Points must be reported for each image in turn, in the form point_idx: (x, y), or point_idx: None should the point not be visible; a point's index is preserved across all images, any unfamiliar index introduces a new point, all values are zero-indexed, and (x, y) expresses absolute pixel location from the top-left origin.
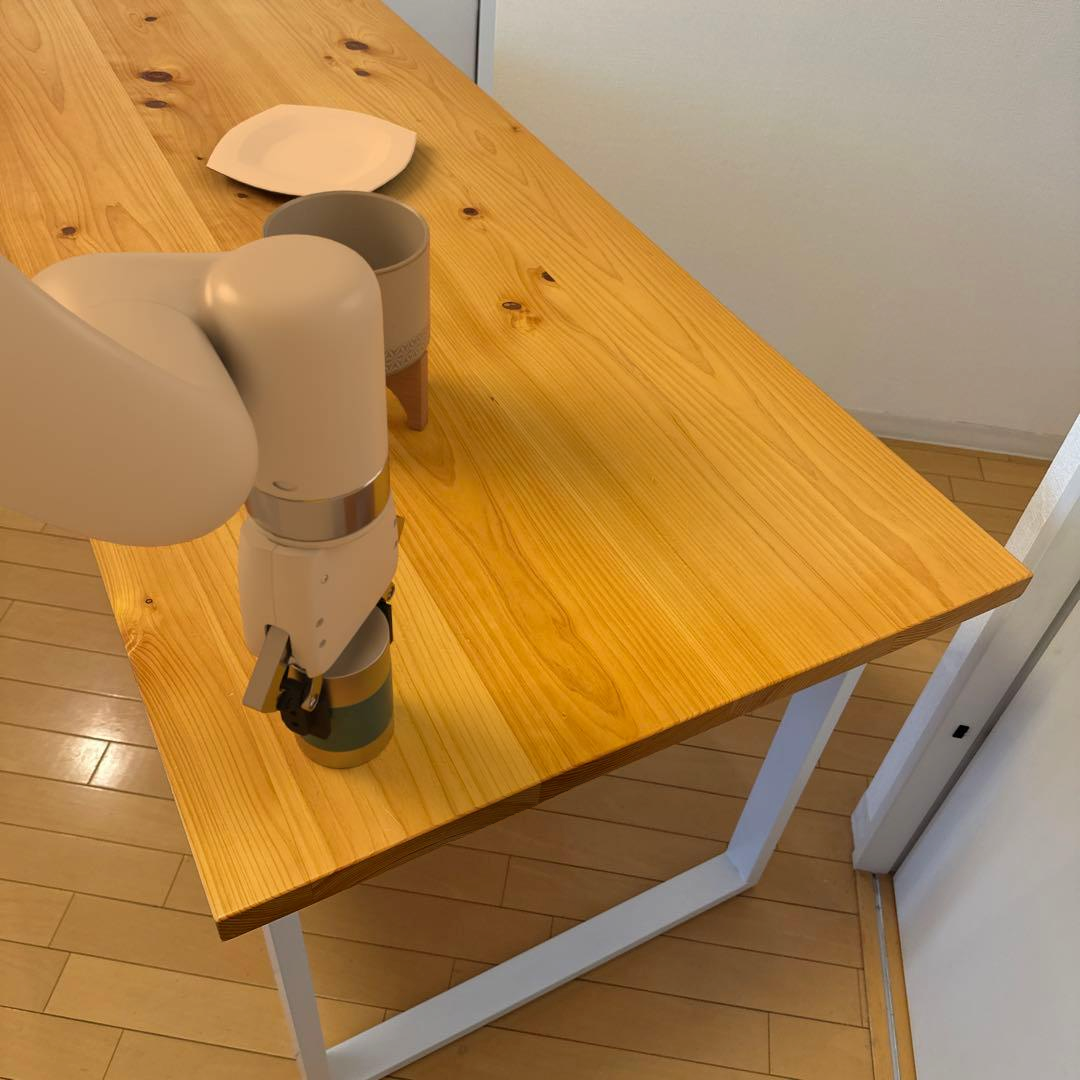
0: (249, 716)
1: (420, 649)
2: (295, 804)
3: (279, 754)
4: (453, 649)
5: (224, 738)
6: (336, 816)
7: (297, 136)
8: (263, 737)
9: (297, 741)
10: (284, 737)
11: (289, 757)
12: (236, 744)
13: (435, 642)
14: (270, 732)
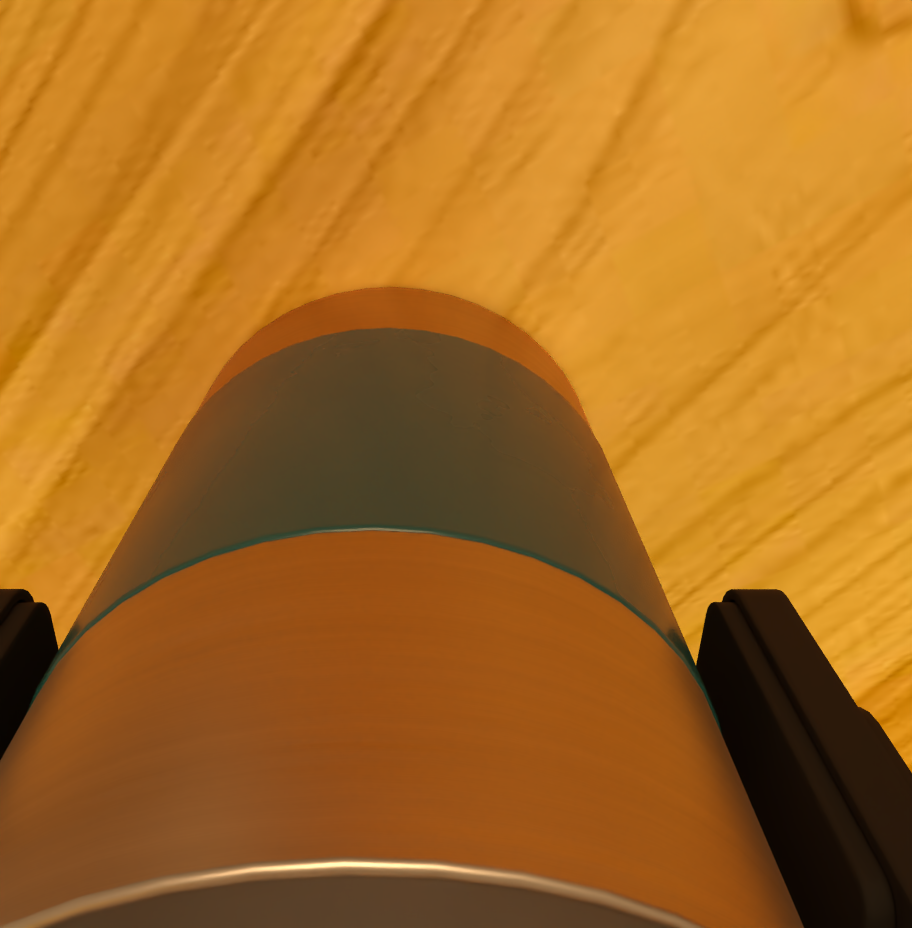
0: (239, 71)
1: (845, 560)
2: (3, 485)
3: (146, 317)
4: (872, 655)
5: (68, 24)
6: (56, 622)
7: None
8: (178, 205)
9: (217, 377)
10: (228, 291)
11: (158, 361)
12: (76, 105)
13: (892, 592)
14: (217, 220)
